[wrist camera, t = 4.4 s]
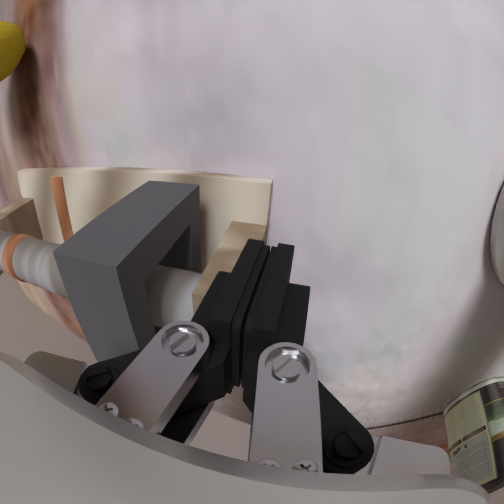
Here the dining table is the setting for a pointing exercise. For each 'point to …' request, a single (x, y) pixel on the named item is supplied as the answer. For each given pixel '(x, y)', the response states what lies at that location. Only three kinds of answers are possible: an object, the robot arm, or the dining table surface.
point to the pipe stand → (108, 193)
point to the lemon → (10, 48)
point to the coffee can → (478, 434)
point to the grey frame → (128, 263)
